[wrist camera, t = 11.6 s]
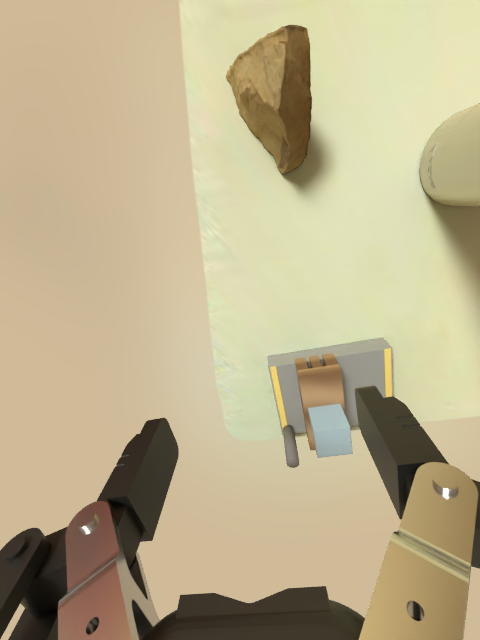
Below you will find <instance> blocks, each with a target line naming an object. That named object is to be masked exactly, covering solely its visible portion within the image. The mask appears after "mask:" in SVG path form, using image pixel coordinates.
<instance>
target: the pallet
mask: <svg viewBox="0 0 480 640" xmlns="http://www.w3.org/2000/svg"><path fill="white" fill-rule="evenodd" d="M322 360H323V366H322V364H321V361H320V359H319V356H318V355H316V356H310V357H309V361H310V369H309V368H308V365H307V362H306V359H305V357H303V358H297V359H295V366H296V372H297V378H298V384H299V390H300V396H301V403H302V409H303V415H304V421H305V427H306V432H307V437H308V441H309V445H310V450H316V448H315V444H314V440H313V436H312V431H311V425H310V419H309V413H308V408H311V407H319V406H326V405H333V404H341V406H342V409H343V411H344V414H345V404H344V393H343V382H342V372H341V368H340V366H339V364H338V362H337V360H336V358H335V356H334V354H333V353H329V354H323V355H322ZM345 416H346V414H345Z"/></svg>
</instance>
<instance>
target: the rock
mask: <svg viewBox="0 0 480 640" xmlns="http://www.w3.org/2000/svg"><path fill="white" fill-rule="evenodd" d="M226 78H227V80H228V81H229V82H230V84H231V87H232V90H233V93H234V95H235V98H236V103H237V106H238V108H239V110H240V111H239V114H240V115H241V116H242V117H243V119H244V120H245V122H246V124H247V125H248V127H249V129H250V130H251V131H252V132H253V133H254V135H255V136H256V137H258V138H259V139H260V141H261V142H262V143H263V146H264V147H265V148H266V149H267V150H268V151H269V152H270V153H271V154H272V155H273V156H274V158H275V161H276V163H277V167H278V169H279V171H281V173H282V174H285V173H287V172H289V171H291V170H293V169H295V168H297V167H298V166H300V165H301V164H302V163H303V161H304V158H305V157H306V155H307V147H308V141H309V139H310V121H311V109H312V97H311V91H310V85H311V83H310V42H309V37H308V32H307V28H305V27H302V26H297V25H288V26H284V27H281V28H279V29H278V30H277V31H275V32H272V33H269V34H267V35H266V37H264V38H261V39H259V40H258V41H257V42H256V43H255V44H254V45H253V46H252V47H249V49H248V50H247V51H245V52H244V53H242V54H239V56H238V57H237V58H236V60H235V61H234V63H233V65H232V66H230V69H229V70H228V71H227V75H226Z"/></svg>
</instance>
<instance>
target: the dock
mask: <svg viewBox="0 0 480 640" xmlns="http://www.w3.org/2000/svg"><path fill="white" fill-rule="evenodd" d="M329 353H333V354H334V356H335V358H336V360H337V362H338V364H339V366H340V368H341V372H342V382H343V393H344V404H345V414H346V418H347V421H348V423H349V426H358V425H359V423H358V417H357V408H356V399H355V388H360V387H367V386H373V385H375V386H376V387H377V389H378V390H379V392H380V393H381V395H382V396H383V398H385V397H392V396H393V360H392V347H391V346H390V345H389V344H388V343H387V342H386V341H385V340H384V339H383V338H378V339H371V340H365V341H359V342H353V343H347V344H341V345H334V346H328V347H322V348H316V349H310V350H304V351H297V352H291V353H285V354H279V355H273V356H268V367H269V372H270V377H271V382H272V386H273V391H274V396H275V401H276V406H277V411H278V415H279V420H280V425H281V430H282V435H284V443H285V453H286V461H287V465H288V466H289V467H292V468H294V467H297V466H298V465H299V458H298V452H297V446H296V440H295V434H294V433H302V432H306V427H305V421H304V415H303V409H302V403H301V396H300V390H299V384H298V378H297V372H296V366H295V359H297V358H303V357H305V359H306V362H307V365H308V368H309V369H310V361H309V357H310V356H316V355H318V356H319V359H320V361H321V364H322V366H323V360H322V355H323V354H329Z"/></svg>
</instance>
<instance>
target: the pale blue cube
mask: <svg viewBox="0 0 480 640" xmlns="http://www.w3.org/2000/svg"><path fill="white" fill-rule="evenodd" d="M308 413H309V419H310V425H311V431H312V436H313V440H314V444H315V448H316V452H317V457H318V458H319V457H328V456H337V455H345V454H352V441H351V431H350V426H349V423H348V421H347V418H346V416H345V414H344V411H343V409H342V406H341V404H333V405H326V406H319V407H311V408H308Z"/></svg>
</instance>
